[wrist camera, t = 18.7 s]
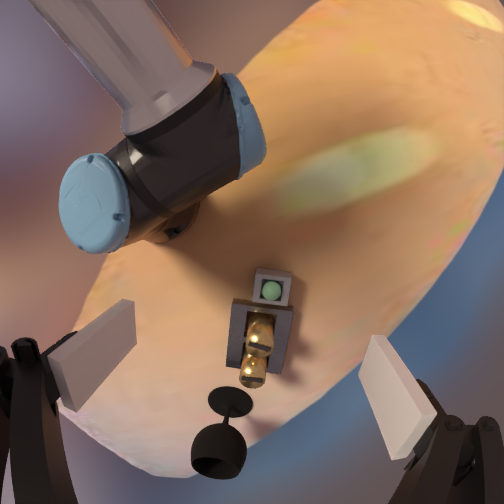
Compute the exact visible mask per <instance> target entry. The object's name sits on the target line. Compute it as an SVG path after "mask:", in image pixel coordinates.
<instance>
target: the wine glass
mask: <svg viewBox="0 0 504 504" xmlns="http://www.w3.org/2000/svg"><path fill="white" fill-rule="evenodd" d="M208 403H209V405H210V407H211V408H212V409H213V410H214V411H215V412H216V413H218V414H220V415H222V416H225V417H224V420H223V423H218V424H212V425H209V426H207V427H205V428H204V429H202V430H201V431H200V432H199V433H198V434H197V436H196V437H195V439H194V441H193V444H192V448H191V465H192V467H193V469H194V470H195V471H197V472H198V473H200V474H202V475H204V476H206V477H209V478H214V479H232V478H234V477H236V476H238V474H239V473H240V471H241V469H242V467H243V465H244V462H245V460H246V455H247V446H246V442H245V440H244V438H243V436H242V434H241V433H240V432H239V431H238V430H237V429H235V428H234V427H232V426H230V425H228V422H229V417H231V418H236V417H242V416H244V415H246V414H247V413H249V412H250V410H251V409H252V400H251V398H250V396H249V395H248V394H247V393H246V392H244V391H243V390H241V389H238V388H235V387H229V386H225V387H219V388H216V389H214V390H213V391H212V392H211V393H210V394H209V397H208Z"/></svg>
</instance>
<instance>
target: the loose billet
mask: <svg viewBox="0 0 504 504" xmlns="http://www.w3.org/2000/svg"><path fill="white" fill-rule="evenodd" d="M266 363H267V356H266V357H263V358H257V357H253V356H252V355H250V354H249V353H248V352H247V350H246V347H245V352H244V357H243V362H242V367H241V371H240V376H239V380H240V382H241V384H242V385H244V386H245V387H247V388H259V387H261V386H262V385H263V384H264V383H265V378H266Z"/></svg>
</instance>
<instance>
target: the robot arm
mask: <svg viewBox="0 0 504 504" xmlns="http://www.w3.org/2000/svg"><path fill="white" fill-rule="evenodd" d="M28 1H29V2H30V3H31V5H32V6H33V7H34V8H35V9H36V11H37V12H38V13H39V14H40V15H41V16H42V18H43V19H44V20H45V21H46V22H47V23H48V25H49V26H50V27H51V28H52V29H53V30H54V31H55V33H56V34H57V35H58V36H59V37H60V39H61V40H62V41H63V42H64V43H65V44H66V45H67V47H68V48H69V49H70V50H71V51H72V52H73V53H74V54H75V56H76V57H77V58H78V59H79V60H80V62H81V63H82V64H83V65H84V66H85V67H86V69H87V70H88V71H89V72H90V73H91V74H92V75H93V77H94V78H95V79H96V80H97V81H98V82H99V83H100V85H101V86H102V87H103V88H104V89H105V90H106V92H108V94H109V95H110V96H111V97H112V98H113V99H114V101H115V102H116V103H117V104H118V105H119V106H120V108H121V109H122V119H121V131H122V133H123V134H124V135H125V136H126V138H124V139H123V140H122V141H121V142H119V143H118V144H117V145H116V146H114V147H113V148H112V149H111V150H109V151H108V152H107V153H106V154H104V155H103V154H100V153H92V154H89V155H85V156H82V157H80V158H78V159H77V160H76V161H75V162H73V163H72V165H71V166H70V167H69V168H68V170H67V171H66V173H65V175H64V177H63V180H62V183H61V187H60V199H59V213H60V218H61V222H62V225H63V227H64V230H65V232H66V234H67V235H68V237H69V238H70V240H71V241H72V242H73V243H74V244H75V245H76V246H77V247H78V248H79V249H81V250H84V251H86V252H87V253H90V254H102V253H111V252H115V251H117V250H118V249H119V248H121V247H124V246H127V245H129V244H132V243H135V242H137V241H140V240H146V241H149V242H157V243H159V242H166V241H170V240H172V239H174V238H177V237H179V236H180V235H182V234H183V233H184V232H186V231H187V230H188V229H189V227H190V226H191V225H192V223H193V222H194V220H195V218H196V215H197V212H198V208H199V200H201V199H202V198H204V197H206V196H207V195H209V194H211V193H212V192H214V191H216V190H218V189H219V188H221V187H223V186H225V185H226V184H228V183H230V182H232V181H234V180H238V179H240V178H241V177H242V176H243V174H245V173H246V172H248V171H250V170H251V169H253V168H255V167H256V166H258V165H260V164H261V163H262V161H263V159H264V158H265V156H266V141H265V137H264V133H263V129H262V126H261V123H260V121H259V118H258V115H257V113H256V111H255V108H254V106H253V104H252V103H251V102H250V99H249V97H248V94H247V92H246V90H245V88H244V86H243V85H242V83H241V82H240V80H239V79H238V78H237V77H236V76H235V75H234V74H233V73H227V74H226V73H223V74H221V75H220V74H219V73H218V71H217V69H216V68H215V66H214V65H212V64H210V63H205V62H200V61H195V60H193V59H192V58H191V57H190V55H189V53H188V52H187V51H186V49H185V47H184V46H183V44H182V43H181V41H180V40H179V39H178V37H177V36H176V34H175V33H174V31H173V30H172V28H171V27H170V26H169V24H168V23H167V21H166V20H165V18H164V17H163V15H162V14H161V13H160V11H159V10H158V8H157V7H156V6H155V4H154V3H153V2H152V0H28ZM136 344H137V340H136V326H135V307H134V301H130V300H125V299H122V300H121V301H119V302H118V303H116V304H115V305H114V306H112V307H111V308H110V309H108V310H107V311H106V312H104V313H103V314H101V315H100V316H99V317H97V318H96V319H95V320H93V321H92V322H91V323H89V324H88V325H87V326H85V327H84V328H83V329H81V330H80V331H79V332H77V331H75V332H72V333H69V334H67V335H66V336H64V337H63V338H62V339H61V340H59V341H58V342H56V344H54V345H52V346H51V347H50V348H48V349H47V350H46V351H44V352H43V353H42V354H40V352H39V349H38V345H37V342H36V341H35V340H34V339H32V338H27V337H25V338H20V339H17V340H15V341H14V342H13V343H12V345H11V348H12V351H13V354H14V357H15V359H13V358H9V357H8V354H7V351H6V349H5V348H4V347H2V346H0V504H1V496H2V487H3V480H4V473H5V468H6V462H7V457H8V453H9V448H10V463H11V475H12V484H13V491H14V497H15V504H78V501H77V498H76V495H75V492H74V488H73V485H72V481H71V477H70V474H69V469H68V465H67V461H66V456H65V451H64V446H63V440H62V434H61V427H60V421H59V411H58V405H57V402H56V400H57V399H58V398H59V397H61V400H62V402H63V405H64V406H65V407H67V408H69V409H71V410H73V411H75V412H78V411H79V409H80V408H81V407H82V406H83V405H84V403H85V402H86V401H87V400H88V399H89V398H90V396H91V395H92V394H93V393H94V392H95V391H96V389H97V388H98V387H99V386H100V385H101V384H102V382H103V381H104V380H105V379H106V378H107V377H108V376H109V374H110V373H111V372H112V371H113V370H114V369H115V368H116V366H117V365H118V364H119V363H120V362H121V361H122V360H123V358H124V357H125V356H126V355H127V354H128V353H129V352H130V350H131V349H132V348H133V347H134V346H135V345H136ZM358 376H359V378H360V381H361V383H362V386H363V388H364V390H365V393H366V395H367V398H368V400H369V403H370V405H371V408H372V410H373V412H374V415H375V417H376V420H377V423H378V425H379V428H380V430H381V433H382V436H383V438H384V441H385V444H386V446H387V449H388V452H389V455H390V457H391V460H395V459H401V458H406V457H407V456H408V455H409V453H410V452H411V451H412V449H413V450H414V452H415V454H416V455H415V456H414V457H413V459H412V460H411V461H410V462H409V463H408V465H407V466H406V467H405V468H404V470H406V469H407V470H406V472H405V475H404V476H403V478H402V480H401V482H400V484H399V486H398V487H397V489H396V491H395V493H394V494H393V496H392V498H391V499H390V501H389V503H388V504H504V446H503V441H502V437H501V432H500V428H499V425H498V423H497V422H496V421H495V419H493V418H491V417H488V416H483V417H481V418H480V419H479V420H478V422H477V423H476V425H465V424H464V422H463V421H462V420H461V419H460V418H458V417H456V416H454V415H447V414H446V413H445V411H444V410H443V408H442V407H441V405H440V404H439V402H438V401H437V400H436V398H434V395H433V394H432V393H431V391H430V389H429V388H428V386H427V385H426V384H425V383H423V382H422V381H421V380H419V379H416V380H415V378H414V377H413V375H412V374H411V373H410V371H409V370H408V368H407V367H406V365H405V364H404V362H402V360H401V358H400V357H399V356H398V354H397V352H396V351H395V350H394V348H393V347H392V346H391V344H390V343H389V341H388V340H387V339H386V337H385V336H384V335H372V336H371V340H370V343H369V346H368V349H367V351H366V354H365V357H364V360H363V363H362V366H361V368H360V371H359V374H358ZM474 461H475V464H474Z"/></svg>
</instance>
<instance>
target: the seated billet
mask: <svg viewBox="0 0 504 504" xmlns="http://www.w3.org/2000/svg"><path fill="white" fill-rule="evenodd" d="M273 349H274V338H273V322H272V316H271V315H270V314H267V313H259V312H253V313H252V314H251V315H250V318H249V324H248V332H247V339H246V350H247V352H248V353H249V354H250V355H252V356H253V357H257V358H263V357H266V356H268V355H270V354H271V353H272V351H273Z"/></svg>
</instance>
